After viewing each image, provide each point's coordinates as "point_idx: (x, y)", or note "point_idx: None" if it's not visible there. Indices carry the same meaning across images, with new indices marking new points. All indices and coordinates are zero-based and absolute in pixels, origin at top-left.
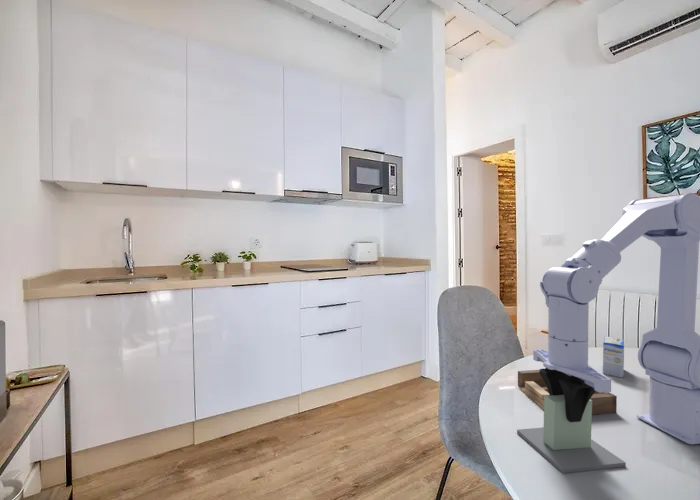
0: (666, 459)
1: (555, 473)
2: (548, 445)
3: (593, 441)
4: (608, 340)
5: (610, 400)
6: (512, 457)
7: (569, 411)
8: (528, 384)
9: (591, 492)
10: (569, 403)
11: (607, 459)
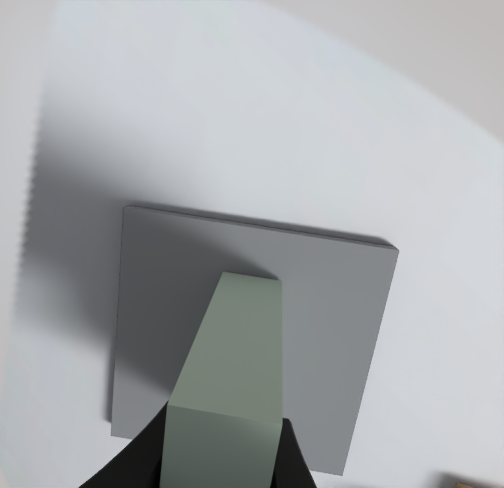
0: None
1: (135, 179)
2: (251, 277)
3: None
4: None
5: None
6: (258, 87)
7: (142, 433)
8: None
9: (34, 213)
10: (103, 470)
11: (135, 400)
